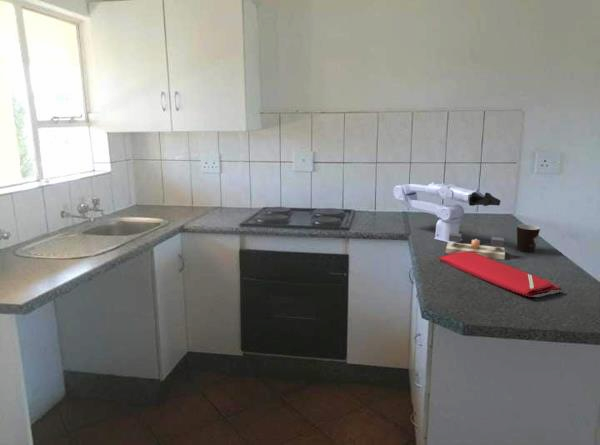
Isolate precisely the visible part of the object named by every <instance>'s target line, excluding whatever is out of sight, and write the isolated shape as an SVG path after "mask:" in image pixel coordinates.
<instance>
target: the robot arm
mask: <svg viewBox="0 0 600 445" xmlns="http://www.w3.org/2000/svg"><path fill="white" fill-rule="evenodd" d="M417 193H426V194H427V195H428V196H430V197H437V198H442V199H443V200H446V199H450V200H454V201H457V202H461V203H465V204H468V206H470V207H471V206H472V207H473V206H483V207H488V206H500V205H501V199H499V198H496V197H495V196H494V195H492V194H491V193H489V192H485V193H484V194H483V193H482V192H480V189H479V188H475V189H474V190H472V189H468V188H464V187H459V186H456V185H455V184H452V183H450V184H446V183H444V182H443V183H437V182H435V181H432V182H431V183H429V184H428V185H425V184H419V183H408V184H400V185H395V186H394V188H393V195H394V198H395V200H397V201H399V202H401V203H402V204H403V205H404V206H405V207H406V208H407V209H411V210H414V211H418V212H421V213H423V212H424V213H427V214H432V215H434V216H436V217H437V218H439V219H438V220H437V222H436V225H435V234H434V236H435V237H434V238H433V240H438V241H441V242H446V243H448V242H453V243H456V242H454V241H449V235H450V233H458V234H460V222H461V219H462V218H463V217H464V215H465V210H464V208H463V206H462V205H460V204H454V205H450V204H441V203H435V202H431V201H427V200H421V199H419V198H418V194H417ZM462 241H463V239H462V238H461V242H462Z"/></svg>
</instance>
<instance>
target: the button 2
mask: <svg viewBox="0 0 600 445" xmlns="http://www.w3.org/2000/svg"><path fill="white" fill-rule="evenodd" d="M504 243H505V240H504V237H498V236H491V241H490V245H491V246H492V247H502V248H504Z"/></svg>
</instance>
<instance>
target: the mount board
mask: <svg viewBox="0 0 600 445" xmlns="http://www.w3.org/2000/svg"><path fill="white" fill-rule="evenodd" d="M446 243H447V244H446V247H445V254H452V253H459V252H471V253H476V254H479V255H482V256H484V257H487V258H489V259H495V260H505V259H506V258H505V257H506V251H505V247H502V246H493V245H491V246H489V245H483V244H482V245H481V244H480V247H479V249H472V248H471V243H461V242H455V243H453V242H446Z"/></svg>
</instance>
